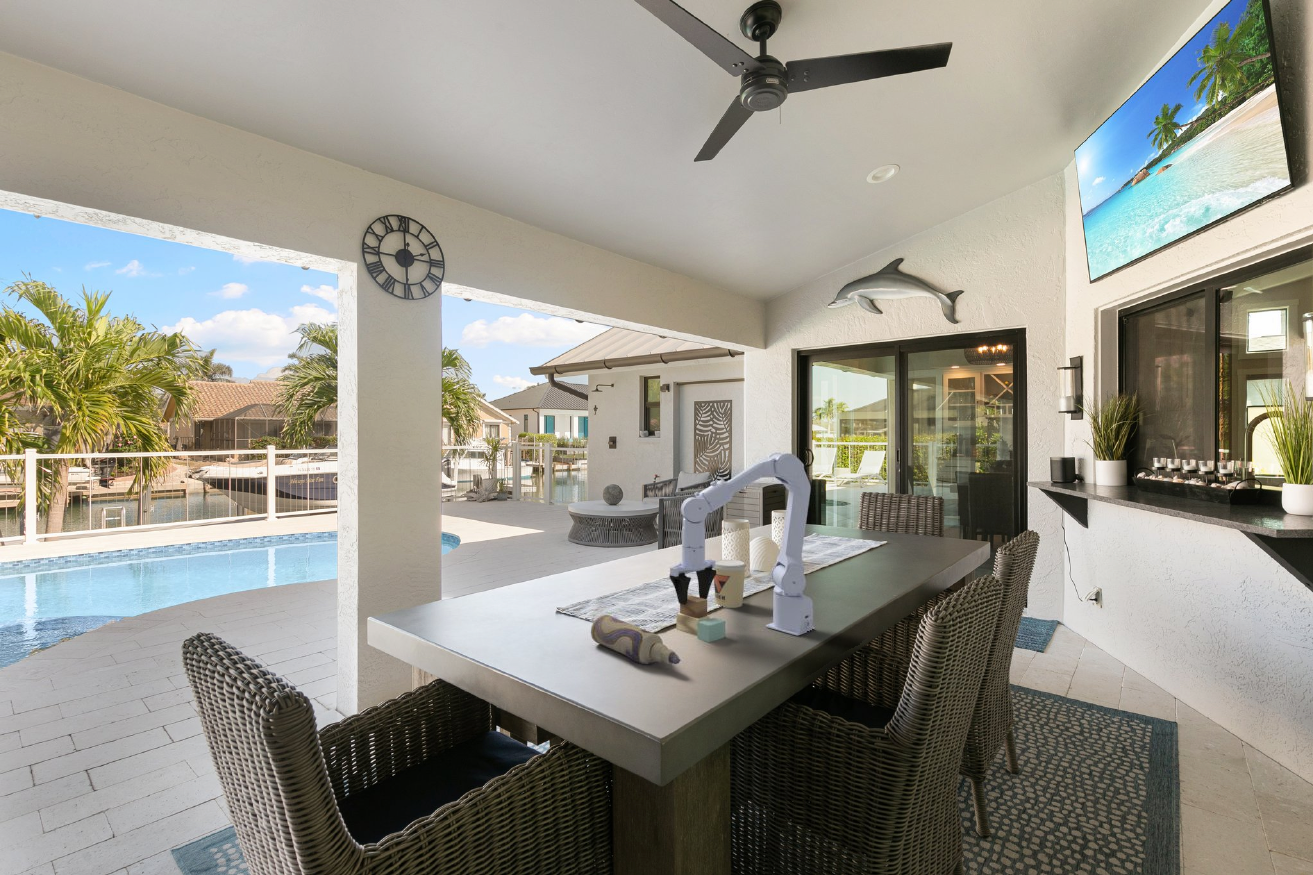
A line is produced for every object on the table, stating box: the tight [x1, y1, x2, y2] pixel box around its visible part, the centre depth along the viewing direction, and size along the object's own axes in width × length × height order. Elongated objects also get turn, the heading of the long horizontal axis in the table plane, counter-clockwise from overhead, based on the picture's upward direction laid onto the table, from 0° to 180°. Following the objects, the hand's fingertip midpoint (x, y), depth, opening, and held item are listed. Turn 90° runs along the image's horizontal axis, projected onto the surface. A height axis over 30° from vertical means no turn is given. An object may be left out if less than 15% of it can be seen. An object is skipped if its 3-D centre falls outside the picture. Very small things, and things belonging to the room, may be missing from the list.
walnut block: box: [679, 594, 708, 619], centre depth 148 cm, size 6×4×4 cm, turn 43°
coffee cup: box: [713, 559, 747, 609], centre depth 172 cm, size 9×9×12 cm
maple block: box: [675, 612, 711, 636], centre depth 148 cm, size 7×4×4 cm, turn 46°
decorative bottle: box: [590, 614, 682, 666], centre depth 129 cm, size 26×8×7 cm, turn 41°
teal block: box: [696, 617, 726, 643], centre depth 143 cm, size 6×4×4 cm, turn 132°
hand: (693, 600), depth 148 cm, fingers open, 7 cm apart
